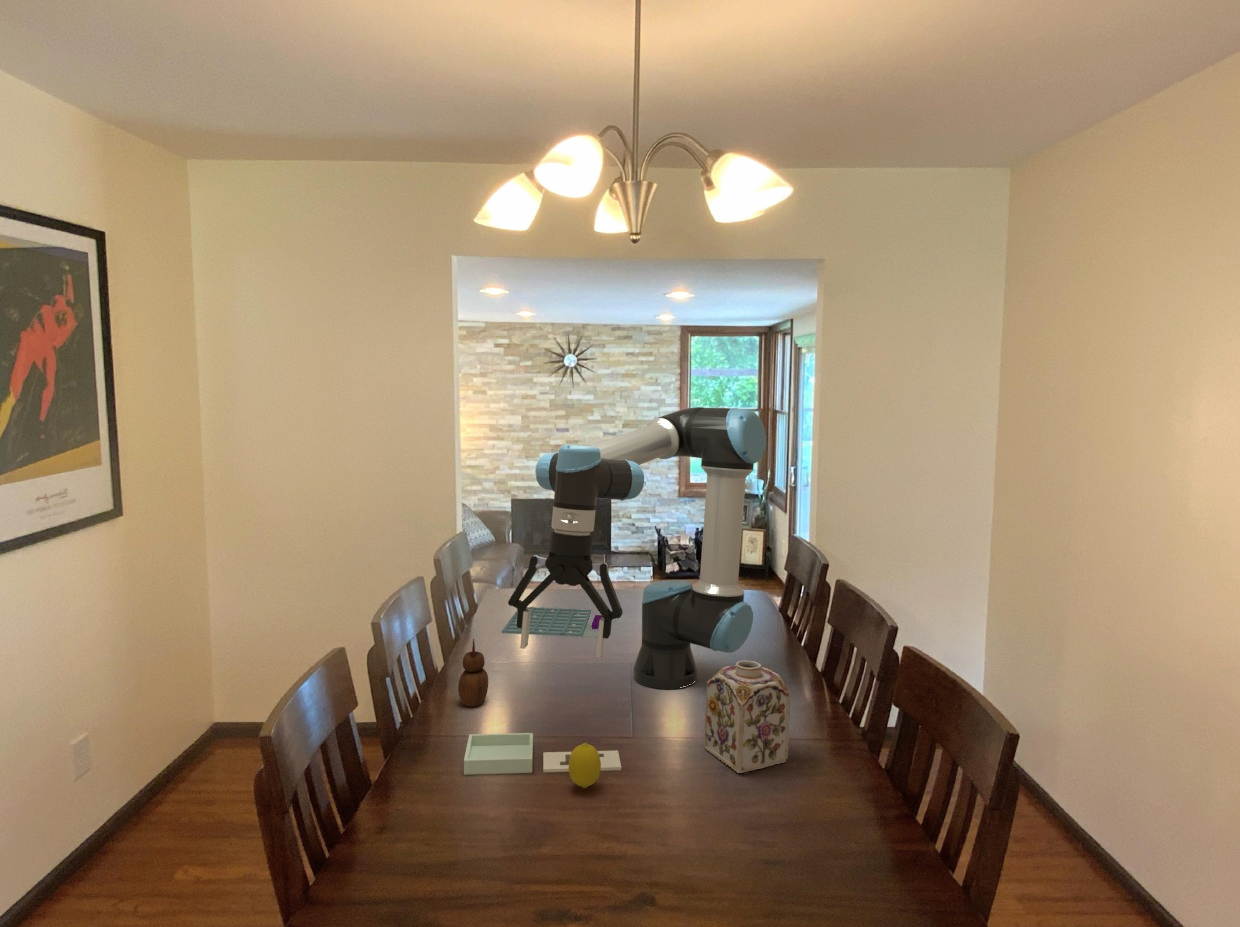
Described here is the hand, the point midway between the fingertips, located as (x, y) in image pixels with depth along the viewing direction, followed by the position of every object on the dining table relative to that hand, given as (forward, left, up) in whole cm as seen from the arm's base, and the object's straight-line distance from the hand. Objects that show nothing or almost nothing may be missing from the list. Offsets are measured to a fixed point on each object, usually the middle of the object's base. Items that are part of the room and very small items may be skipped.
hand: (561, 651), depth 137 cm
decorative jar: (-35, -3, -22) cm, 42 cm away
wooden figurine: (+18, -30, -22) cm, 42 cm away
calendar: (-2, -89, -23) cm, 92 cm away
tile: (-4, -2, -22) cm, 22 cm away
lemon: (-4, +7, -22) cm, 23 cm away
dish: (+11, -4, -22) cm, 25 cm away
